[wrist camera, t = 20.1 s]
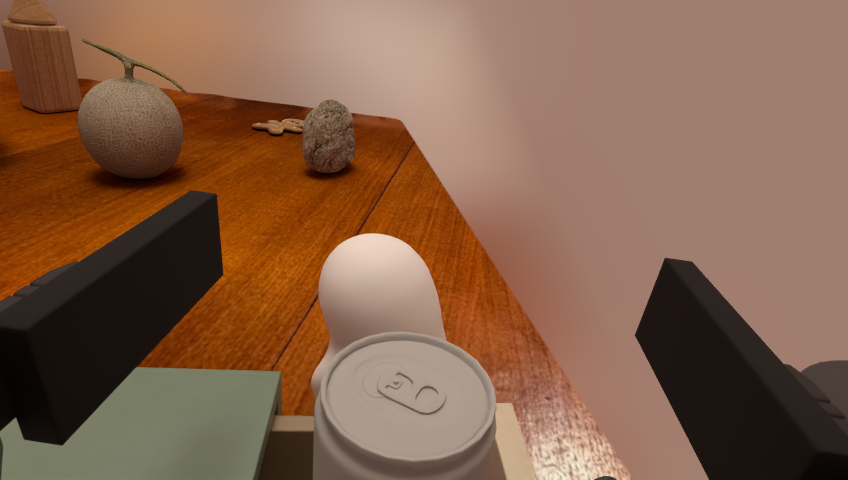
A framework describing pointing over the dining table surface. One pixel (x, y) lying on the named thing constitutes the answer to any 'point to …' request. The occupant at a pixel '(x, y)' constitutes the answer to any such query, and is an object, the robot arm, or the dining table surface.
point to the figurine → (375, 294)
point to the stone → (328, 137)
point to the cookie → (281, 126)
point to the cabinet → (161, 430)
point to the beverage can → (403, 412)
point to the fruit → (130, 124)
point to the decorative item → (41, 58)
